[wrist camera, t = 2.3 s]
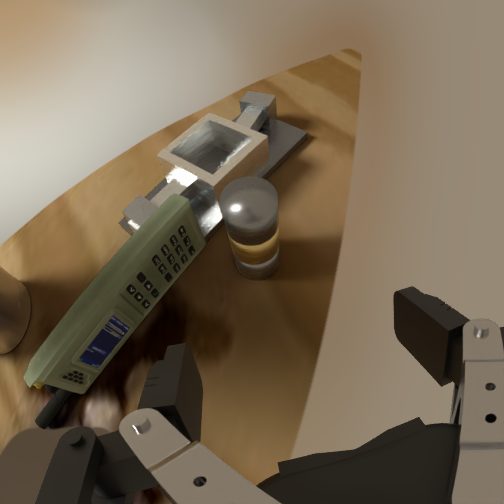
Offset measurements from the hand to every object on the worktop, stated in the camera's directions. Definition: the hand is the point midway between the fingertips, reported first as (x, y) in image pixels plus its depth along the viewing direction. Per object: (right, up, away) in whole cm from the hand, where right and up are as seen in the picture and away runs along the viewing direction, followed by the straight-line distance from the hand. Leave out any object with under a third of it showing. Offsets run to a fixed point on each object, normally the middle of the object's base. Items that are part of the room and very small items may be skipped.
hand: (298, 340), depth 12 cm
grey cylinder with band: (-1, +3, +18) cm, 18 cm away
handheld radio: (-14, -5, +16) cm, 22 cm away
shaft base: (-5, +11, +24) cm, 27 cm away
